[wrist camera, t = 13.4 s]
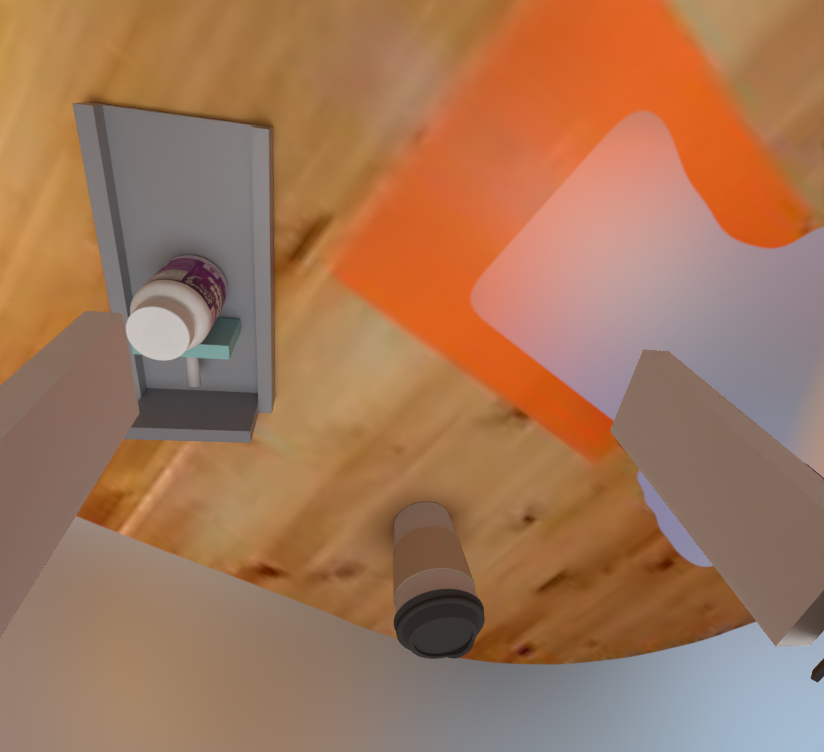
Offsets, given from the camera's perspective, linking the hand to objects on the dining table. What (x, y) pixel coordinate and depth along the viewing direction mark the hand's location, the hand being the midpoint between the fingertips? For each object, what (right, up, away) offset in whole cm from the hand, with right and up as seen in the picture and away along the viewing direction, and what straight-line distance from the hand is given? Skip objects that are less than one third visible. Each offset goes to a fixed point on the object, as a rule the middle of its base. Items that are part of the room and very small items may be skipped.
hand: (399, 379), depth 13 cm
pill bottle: (-18, +8, +28) cm, 34 cm away
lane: (-18, +9, +28) cm, 35 cm away
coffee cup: (+1, -18, +47) cm, 50 cm away
